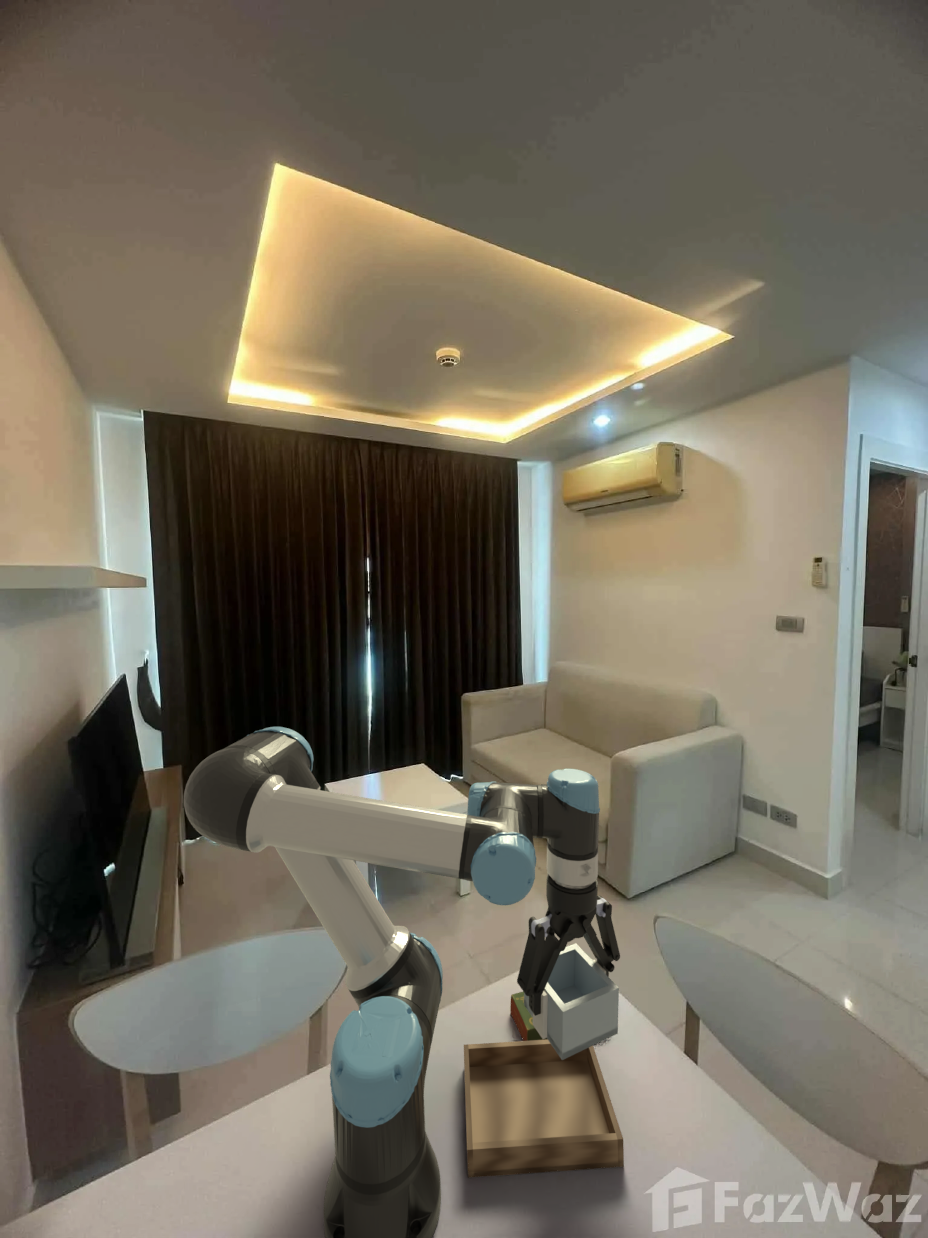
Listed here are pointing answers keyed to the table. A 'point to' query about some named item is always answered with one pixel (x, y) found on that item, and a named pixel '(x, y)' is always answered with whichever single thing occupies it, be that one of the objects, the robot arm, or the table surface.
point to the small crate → (579, 1003)
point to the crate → (537, 1111)
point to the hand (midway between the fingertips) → (569, 1018)
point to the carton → (523, 1018)
